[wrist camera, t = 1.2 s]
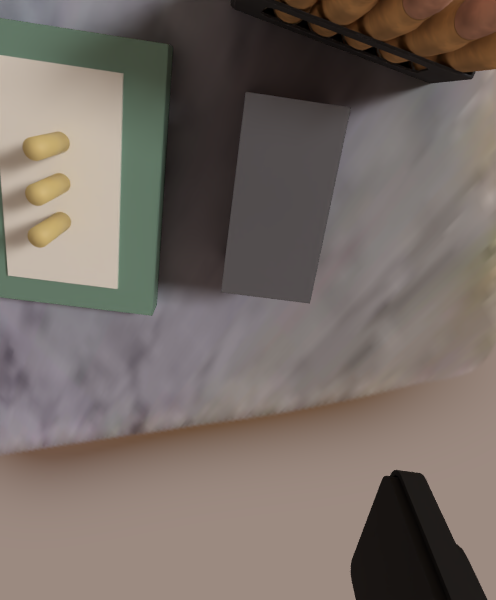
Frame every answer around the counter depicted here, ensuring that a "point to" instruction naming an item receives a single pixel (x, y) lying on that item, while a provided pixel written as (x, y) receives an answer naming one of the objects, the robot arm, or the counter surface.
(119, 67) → the header board
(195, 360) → the counter surface
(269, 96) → the block
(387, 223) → the counter surface
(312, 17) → the ammunition clip
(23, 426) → the counter surface
